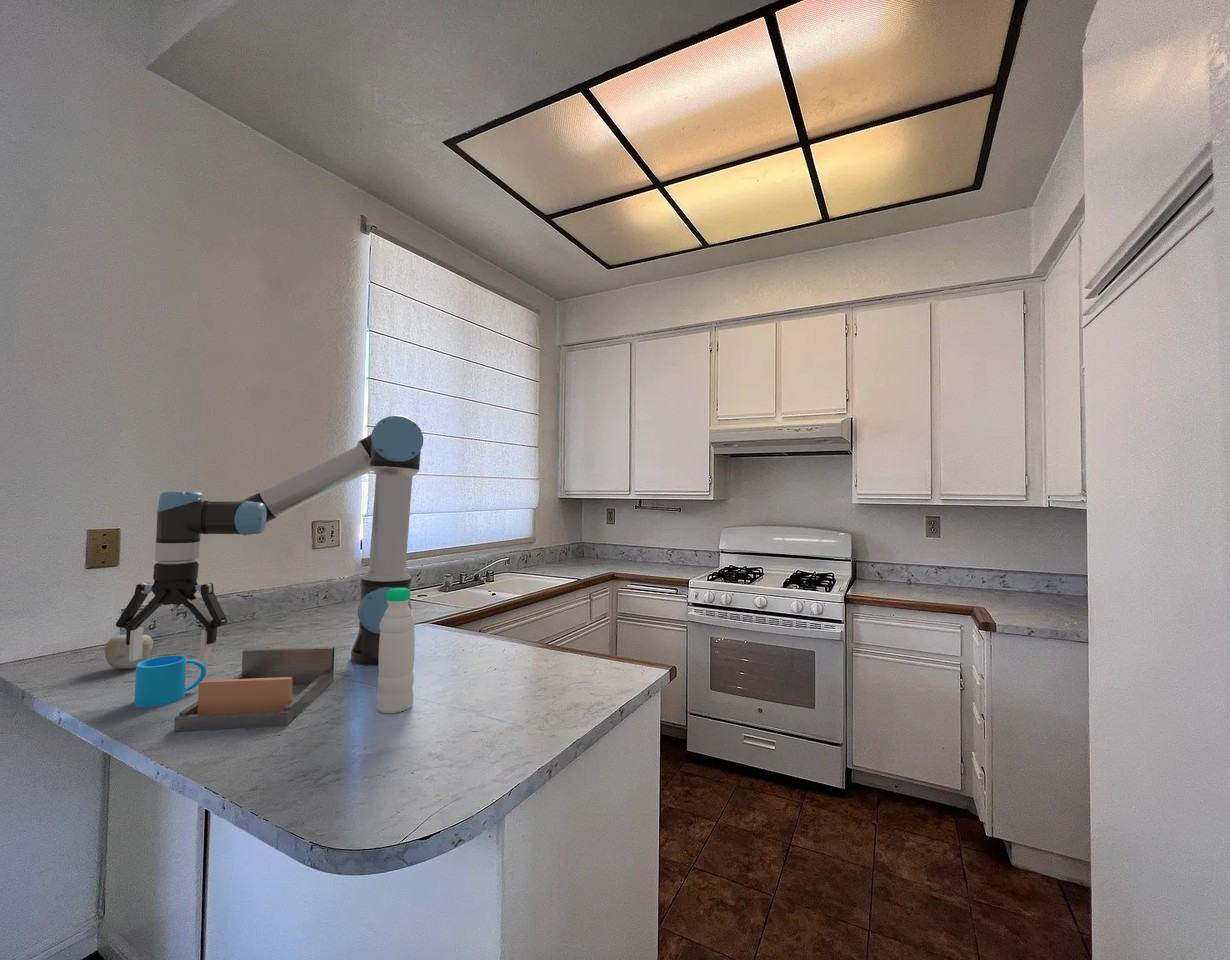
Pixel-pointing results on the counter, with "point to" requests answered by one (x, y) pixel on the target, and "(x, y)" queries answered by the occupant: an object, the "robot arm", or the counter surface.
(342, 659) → the counter surface
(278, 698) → the pusher
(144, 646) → the decorative object
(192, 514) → the robot arm
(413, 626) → the water bottle
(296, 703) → the lane
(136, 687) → the mug
